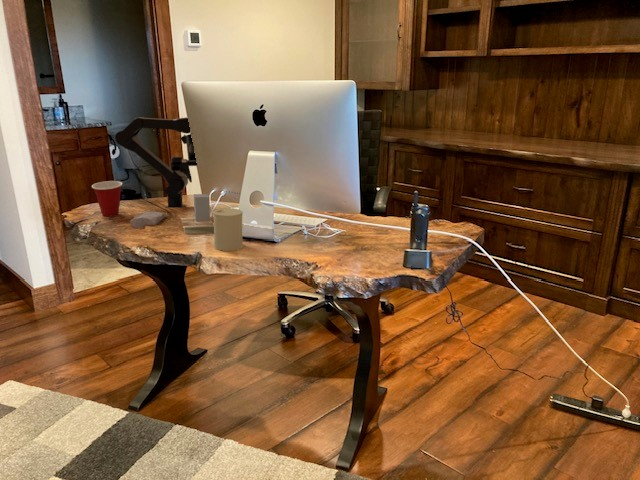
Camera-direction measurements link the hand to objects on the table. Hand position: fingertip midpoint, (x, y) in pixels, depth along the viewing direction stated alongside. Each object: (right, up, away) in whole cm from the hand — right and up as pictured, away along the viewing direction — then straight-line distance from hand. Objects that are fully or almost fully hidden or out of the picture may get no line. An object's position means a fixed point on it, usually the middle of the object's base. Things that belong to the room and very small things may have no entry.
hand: (198, 181), depth 194 cm
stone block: (-17, -16, -7) cm, 25 cm away
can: (+16, -24, -28) cm, 41 cm away
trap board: (+4, -18, -10) cm, 20 cm away
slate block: (+2, -14, -4) cm, 15 cm away
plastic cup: (-34, -12, +2) cm, 37 cm away
